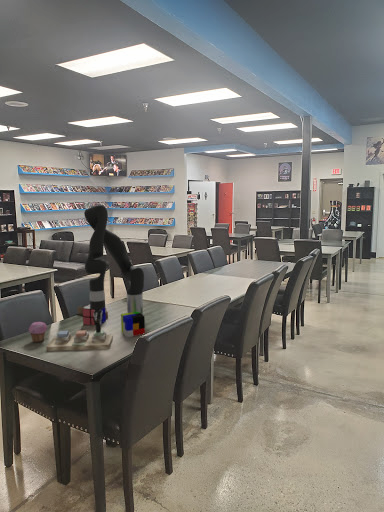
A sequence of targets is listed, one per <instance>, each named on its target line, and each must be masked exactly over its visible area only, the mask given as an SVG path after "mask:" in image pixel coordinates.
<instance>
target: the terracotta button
mask: <svg viewBox="0 0 384 512" xmlns="http://www.w3.org/2000/svg"><path fill="white" fill-rule="evenodd" d="M87 332H88V331H87V329H85V330H77V331H76V333H75V334H76V337H81V336H86V334H87Z"/></svg>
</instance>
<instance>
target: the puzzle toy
mask: <svg viewBox="0 0 384 512" xmlns="http://www.w3.org/2000/svg"><path fill="white" fill-rule="evenodd" d="M120 321H121V322H120V326H121V329H120V330H121V332H122V333H123V334H124V336H125V337H127V338H129V337H134V336H135V335H136V336H139V334H140V335H144V334H143V333H145V334H146V325H145V322H146V321H145V315H144V314H143V315H142V314H141V313H140V312H131V313H127V312H126V313H120ZM136 336H135V337H136Z"/></svg>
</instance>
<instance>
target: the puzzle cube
mask: <svg viewBox="0 0 384 512" xmlns="http://www.w3.org/2000/svg"><path fill="white" fill-rule="evenodd" d="M85 306H86V307H85ZM85 306H83V307H84V308H83V314H82V324H83V326H84V325H85V326H95V327H96V325H95V324H94V320H93V318H94V316H93V312H94V310H93V309H91V308H90V303H89V304H88V305H85ZM106 310H107V309H106ZM106 310H105V308H103V309H101V311H102V322H101V325H102V324H103V323H104V322H106V320H107V318H106V313H105V312H106Z"/></svg>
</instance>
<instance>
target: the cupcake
mask: <svg viewBox="0 0 384 512" xmlns="http://www.w3.org/2000/svg"><path fill="white" fill-rule="evenodd" d="M47 330H48V326H47V324H46V323H45V322H42V321H35V322H32V323H31V325H30V326H29V327H28V332H29V334H30V335H31V336H30V337H31V341H32V342H33V343H40V342H43V340H45V335H46V331H47Z"/></svg>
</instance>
